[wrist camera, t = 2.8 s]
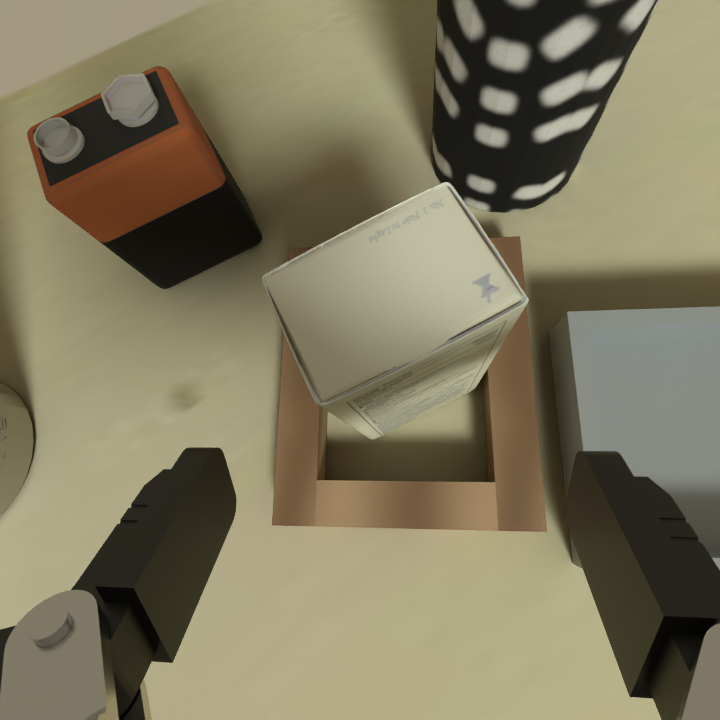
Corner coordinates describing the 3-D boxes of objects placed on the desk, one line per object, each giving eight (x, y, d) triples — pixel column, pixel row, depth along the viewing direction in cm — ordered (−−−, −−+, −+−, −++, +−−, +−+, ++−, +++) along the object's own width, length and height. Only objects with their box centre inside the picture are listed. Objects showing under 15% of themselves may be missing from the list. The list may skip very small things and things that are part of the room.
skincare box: (437, 320, 24) (454, 169, 13) (479, 392, 23) (541, 298, 11) (332, 372, 24) (253, 269, 13) (368, 448, 23) (317, 410, 11)
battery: (266, 244, 27) (183, 111, 17) (164, 294, 27) (23, 189, 17) (241, 189, 28) (150, 37, 19) (143, 237, 28) (1, 110, 19)
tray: (573, 563, 20) (598, 576, 18) (548, 332, 23) (567, 311, 20) (846, 572, 19) (922, 587, 16) (784, 326, 22) (839, 302, 19)
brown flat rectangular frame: (284, 521, 22) (272, 525, 21) (298, 265, 26) (288, 248, 24) (535, 527, 21) (547, 531, 19) (512, 255, 25) (519, 236, 23)
